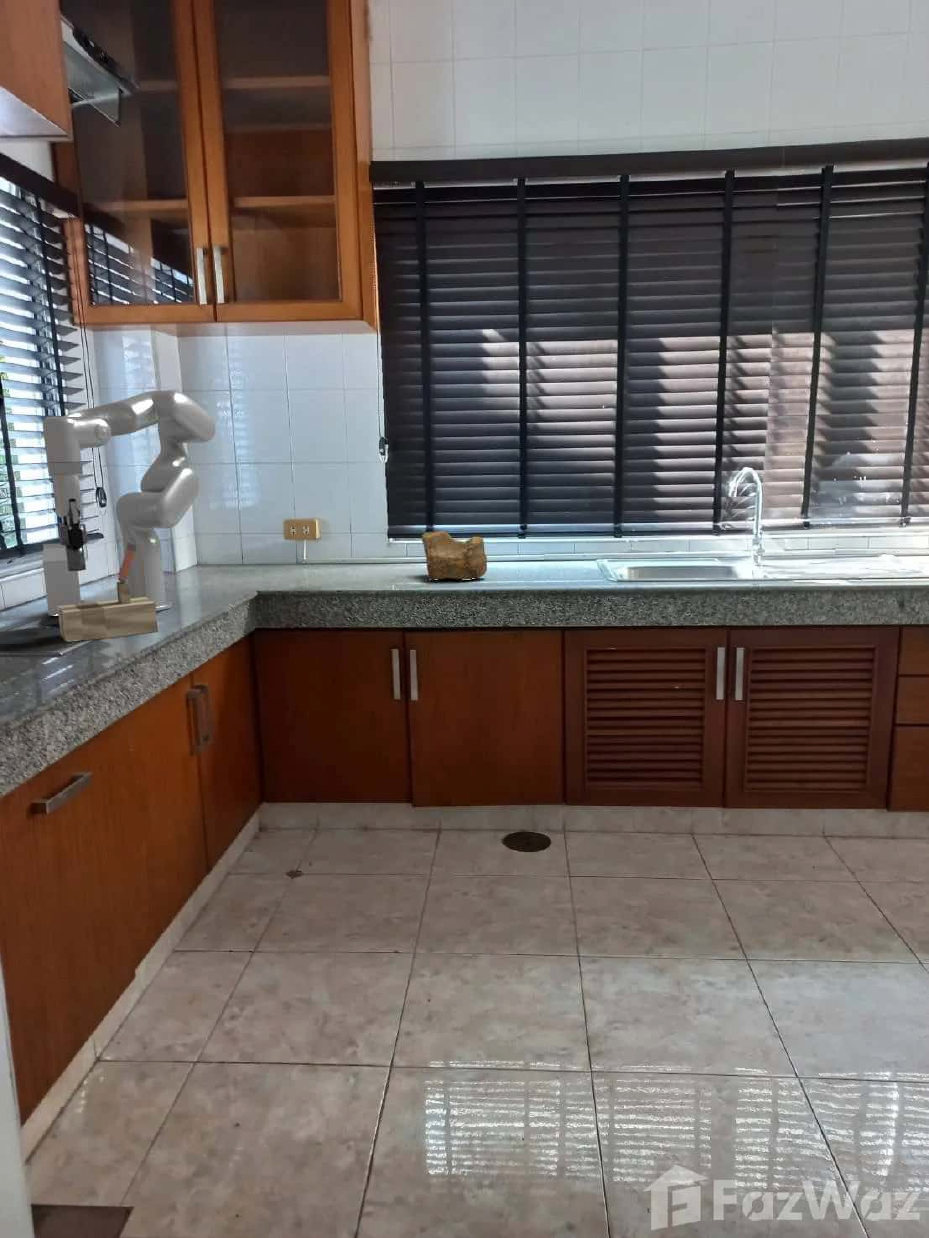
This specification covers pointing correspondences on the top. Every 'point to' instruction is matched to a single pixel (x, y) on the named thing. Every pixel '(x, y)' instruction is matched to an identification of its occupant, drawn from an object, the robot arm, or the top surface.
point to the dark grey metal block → (73, 549)
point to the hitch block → (108, 617)
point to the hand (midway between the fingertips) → (74, 543)
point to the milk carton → (59, 578)
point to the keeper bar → (127, 562)
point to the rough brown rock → (454, 556)
